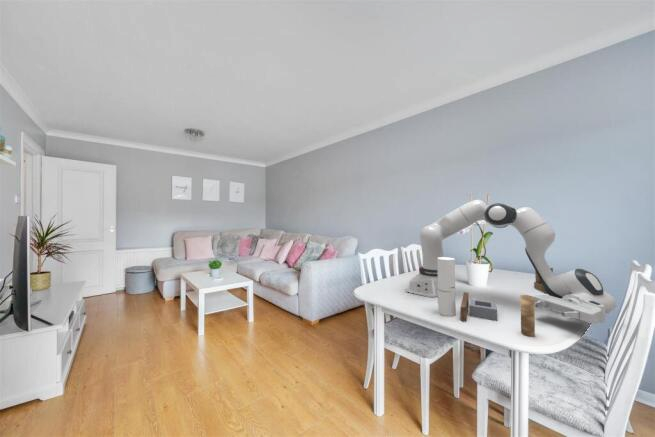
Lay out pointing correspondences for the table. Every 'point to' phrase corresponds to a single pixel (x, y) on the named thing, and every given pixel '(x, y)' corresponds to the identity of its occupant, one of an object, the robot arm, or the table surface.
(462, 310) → the rail
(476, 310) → the socket block
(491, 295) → the table surface
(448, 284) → the cylindrical container
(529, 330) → the brown wooden tall bar
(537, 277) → the wooden block
